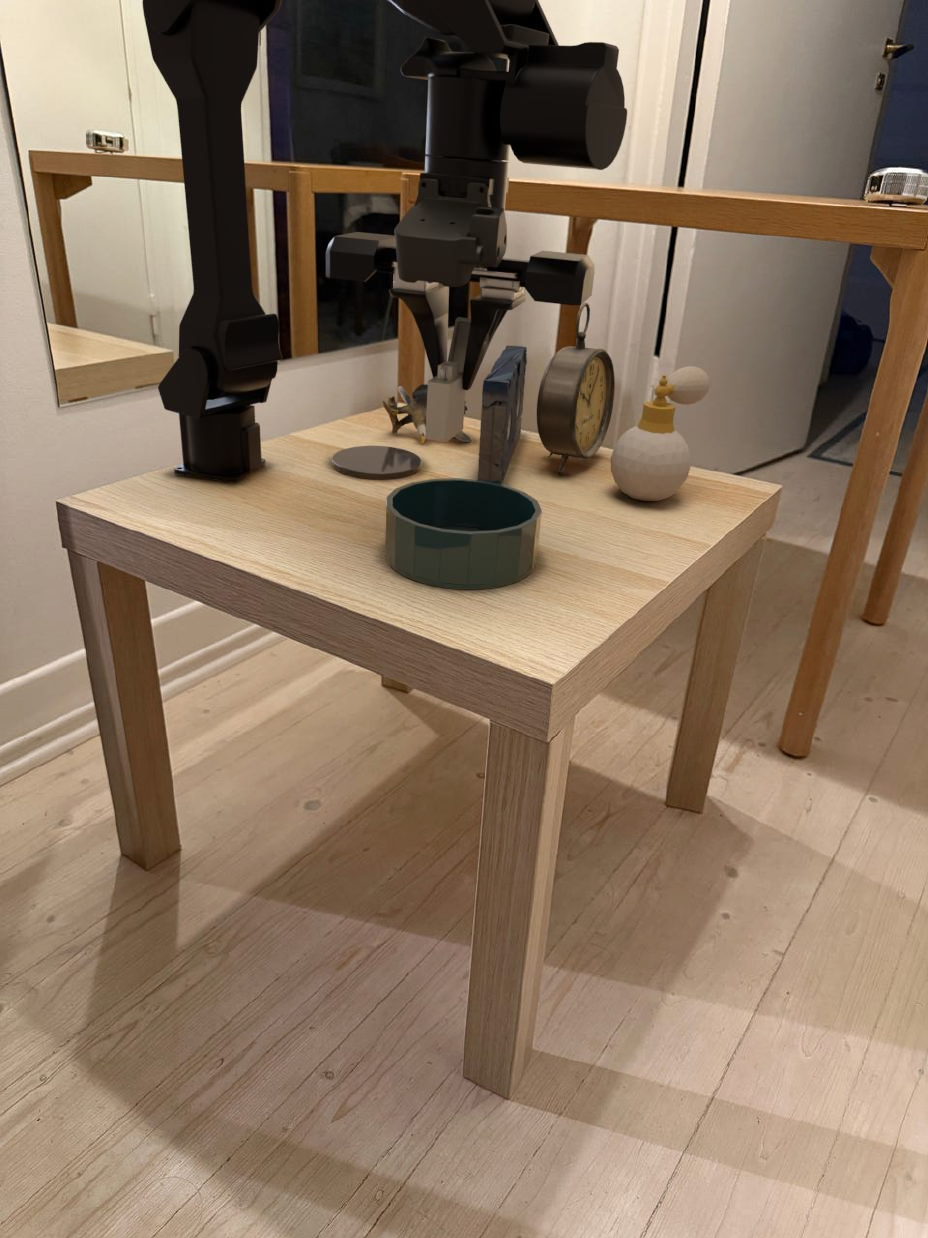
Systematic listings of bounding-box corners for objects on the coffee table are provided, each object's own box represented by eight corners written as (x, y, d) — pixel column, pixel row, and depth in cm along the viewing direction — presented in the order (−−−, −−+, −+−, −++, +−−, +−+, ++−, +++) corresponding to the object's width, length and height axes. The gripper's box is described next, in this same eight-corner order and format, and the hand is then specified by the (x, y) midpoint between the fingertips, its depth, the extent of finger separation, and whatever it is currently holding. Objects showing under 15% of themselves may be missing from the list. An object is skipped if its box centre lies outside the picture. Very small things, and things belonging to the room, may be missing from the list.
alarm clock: (569, 482, 90) (589, 312, 83) (521, 471, 93) (536, 304, 85) (609, 455, 99) (630, 300, 92) (564, 446, 101) (581, 293, 94)
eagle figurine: (384, 438, 96) (468, 428, 95) (379, 373, 97) (463, 362, 96) (397, 457, 103) (475, 448, 103) (392, 397, 104) (470, 388, 103)
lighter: (446, 442, 68) (452, 331, 64) (424, 438, 68) (429, 328, 64) (475, 419, 74) (482, 317, 70) (454, 416, 74) (461, 314, 70)
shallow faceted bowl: (362, 574, 68) (362, 518, 66) (412, 519, 79) (414, 470, 77) (517, 601, 66) (523, 544, 64) (547, 540, 77) (553, 490, 74)
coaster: (317, 471, 89) (317, 465, 89) (351, 446, 97) (351, 441, 96) (404, 484, 87) (405, 478, 87) (432, 457, 95) (432, 452, 94)
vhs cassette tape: (499, 432, 105) (506, 343, 100) (524, 435, 104) (532, 346, 100) (471, 482, 89) (477, 379, 84) (501, 486, 88) (509, 383, 84)
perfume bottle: (596, 500, 86) (613, 372, 81) (623, 472, 94) (640, 354, 89) (674, 516, 84) (698, 385, 78) (695, 486, 92) (718, 366, 86)
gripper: (290, 147, 57) (295, 395, 64) (584, 171, 53) (554, 431, 60) (355, 148, 67) (353, 364, 74) (608, 169, 63) (580, 394, 70)
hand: (453, 387), depth 69 cm, fingers closed on lighter, 2 cm apart
